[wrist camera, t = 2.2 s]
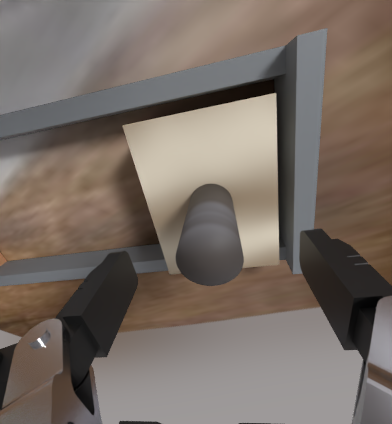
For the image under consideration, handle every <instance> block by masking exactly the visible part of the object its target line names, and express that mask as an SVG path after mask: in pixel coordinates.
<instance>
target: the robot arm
mask: <svg viewBox="0 0 392 424" xmlns="http://www.w3.org/2000/svg"><path fill="white" fill-rule="evenodd" d="M299 262H300V267H301V271H302V273H303V275H304V277H305V279H306V281H307V283H308V284H309V286H310V288H311V290H312V292H313V294H314V295H315V297H316V299H317V301H318V303H319V305H320V306H321V308H322V310H323V312H324V314H325V315H326V317H327V319H328V321H329V323H330V325H331V327H332V328H333V330H334V332H335V334H336V335H337V337H338V339H339V341H340V343H341V345H342V347H343V348H344V350H358V351H359V353H360V355H361V356H362V358H363V363H362V368H361V374H360V379H359V385H358V390H357V396H356V402H355V408H354V413H353V419H352V424H392V286H391V285H390V284H389V283H388V282H387V281H386V280H385V279H384V278H383V277H382V276H381V275H380V274H379V273H378V272H377V271H376V270H375V269H374V268H373V267H372V266H371V265H370V264H369V265H368V262H367V261H366V260H365V259H364V258H363V257H360V254H359V253H358V252H357V251H356V250H355V249H354V248H353V247H352V246H350V245H348V244H347V243H345V242H343V241H341V240H339V239H331V238H330V237H329V236H328V235H327V234H326V233H325V232H324V231H323V230H322V229H312V230H303V231H301V232H300V252H299ZM137 285H138V277H137V274H136V271H135V269H134V266H133V264H132V261H131V259H130V256H129V254H128V252H126V251H120V252H111V253H109V254H108V255H107V256H106V258H105V259H104V260H103V262H102V263H101V264H100V265H98V266H97V267H96V268H95V269H93V270H92V271H91V272H90V273H89V275H88V276H87V277H86V278H85V280H84V282H82V284H81V285H80V286H79V288H78V290H76V292H75V293H74V294H73V295H72V297H71V298H70V299H69V301H68V302H67V303H66V305H65V306H64V307H63V309H62V310H61V311H60V312H59V314H58V315H57V316H56V318H55V319H49V320H46V321H44V322H42V323H40V324H38V325H36V326H35V327H33V328H32V329H31V330H29V331H28V332H27V333H26V334H25V335H24V336H23V337H22V338H21V340H20V341H19V342H18V343H17V344H14V345H11V346H8V347H5V348H2V349H0V424H102V421H101V416H100V410H99V403H98V396H97V390H96V384H95V376H94V371H93V367H92V366H91V364H92V361H93V359H94V358H95V357H107V355H108V353H109V351H110V348H111V346H112V344H113V341H114V339H115V337H116V335H117V332H118V330H119V328H120V325H121V323H122V321H123V318H124V316H125V314H126V312H127V309H128V307H129V305H130V302H131V300H132V298H133V295H134V293H135V291H136V289H137ZM119 424H161V423H158V422H141V421H120V422H119ZM239 424H265V423H239ZM266 424H267V423H266Z"/></svg>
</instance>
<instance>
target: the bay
mask: <svg viewBox="0 0 392 424" xmlns="http://www.w3.org/2000/svg"><path fill="white" fill-rule="evenodd" d="M326 40H327V28H326V29H322V30H318V31H314V32H310V33H306V34H302V35H298V36H296V37H295V38H294V39H293V40H292V41H291V42H289V43H288V44H287V45H286V46H282V47H278V48H273V49H269V50H265V51H261V52H257V53H253V54H249V55H245V56H241V57H237V58H233V59H228V60H224V61H220V62H216V63H212V64H208V65H204V66H200V67H196V68H192V69H187V70H183V71H179V72H175V73H171V74H167V75H163V76H159V77H155V78H151V79H146V80H142V81H138V82H134V83H130V84H126V85H122V86H118V87H114V88H110V89H105V90H101V91H97V92H93V93H89V94H85V95H81V96H77V97H73V98H69V99H65V100H60V101H56V102H52V103H48V104H44V105H40V106H36V107H32V108H28V109H24V110H19V111H15V112H11V113H7V114H3V115H0V140H2V139H7V138H11V137H16V136H20V135H25V134H29V133H34V132H38V131H43V130H47V129H52V128H56V127H61V126H65V125H70V124H74V123H79V122H83V121H88V120H92V119H97V118H101V117H106V116H110V115H115V114H119V113H124V112H128V111H133V110H137V109H142V108H146V107H151V106H155V105H160V104H164V103H169V102H173V101H178V100H182V99H187V98H191V97H196V96H200V95H205V94H209V93H214V92H218V91H223V90H227V89H232V88H236V87H241V86H245V85H250V84H254V83H259V82H263V81H268V80H272V79H274V93H276V107H277V163H278V218H279V260H286V261H287V263H288V265H289V267H290V269H291V271H292V273H293V274H301V273H302V271H301V267H300V262H299V252H300V232H301V231H303V230H312V229H314V218H315V203H316V189H317V174H318V159H319V144H320V129H321V114H322V100H323V85H324V70H325V55H326ZM120 251H126V252H128V254H129V256H130V259H131V261H132V264H133V266H134V269H135V271H136V273H147V272H158V271H168V267H167V264H166V261H165V258H164V255H163V252H162V248H161V245H160V244H153V245H145V246H136V247H127V248H119V249H110V250H101V251H92V252H84V253H75V254H66V255H58V256H49V257H40V258H31V259H23V260H14V261H7V260H6V259H5V258H4V256H3V255H2V254H1V252H0V286H8V285H19V284H29V283H40V282H51V281H61V280H72V279H83V278H86V277H87V276H88V275H89V273H90V272H91V271H92V270H93V269H95V268H96V267H97V266H98V265H100V264H101V263H102V262H103V260H104V259H105V258H106V256H107V255H108V254H109V253H111V252H120Z"/></svg>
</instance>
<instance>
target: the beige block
mask: <svg viewBox="0 0 392 424" xmlns="http://www.w3.org/2000/svg"><path fill="white" fill-rule="evenodd" d="M122 126H123V129H124V133H125V136H126V139H127V142H128V145H129V148H130V151H131V155H132V158H133V161H134V164H135V167H136V170H137V173H138V176H139V180H140V183H141V186H142V189H143V192H144V195H145V198H146V201H147V205H148V208H149V211H150V214H151V217H152V220H153V223H154V226H155V230H156V233H157V236H158V239H159V242H160V245H161V248H162V252H163V255H164V258H165V261H166V264H167V267H168V270H169V273H170V274H181V273H182V274H183V275H184V276H185V277H186V278H187V279H189V280H190V281H192V282H195V283H197V284H201V285H207V286H215V285H221V284H224V283H227V282H229V281H231V280H232V279H234V278H235V277H236V276H237V275H238V274H239V273H240V271H241V269H242V268H248V267H259V266H270V265H279V218H278V163H277V107H276V93H273V94H268V95H263V96H258V97H254V98H249V99H244V100H240V101H235V102H230V103H226V104H221V105H216V106H211V107H207V108H202V109H197V110H193V111H188V112H183V113H178V114H174V115H169V116H164V117H160V118H155V119H150V120H145V121H141V122H136V123H131V124H127V125H122Z"/></svg>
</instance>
